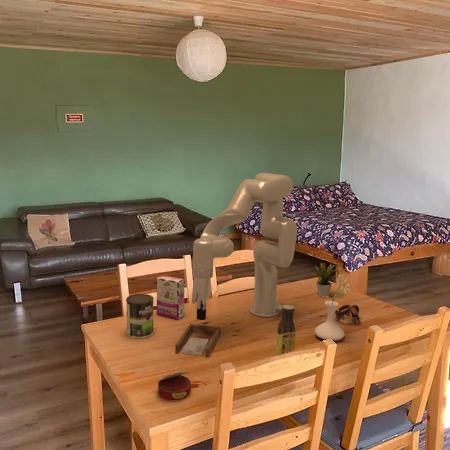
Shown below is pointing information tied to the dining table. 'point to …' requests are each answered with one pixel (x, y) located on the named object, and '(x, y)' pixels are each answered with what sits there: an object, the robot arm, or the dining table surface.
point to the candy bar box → (170, 297)
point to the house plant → (325, 280)
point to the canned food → (174, 387)
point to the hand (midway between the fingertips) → (201, 318)
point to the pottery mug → (348, 312)
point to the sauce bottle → (285, 331)
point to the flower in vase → (330, 327)
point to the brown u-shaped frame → (199, 329)
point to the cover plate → (195, 346)
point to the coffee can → (139, 316)
